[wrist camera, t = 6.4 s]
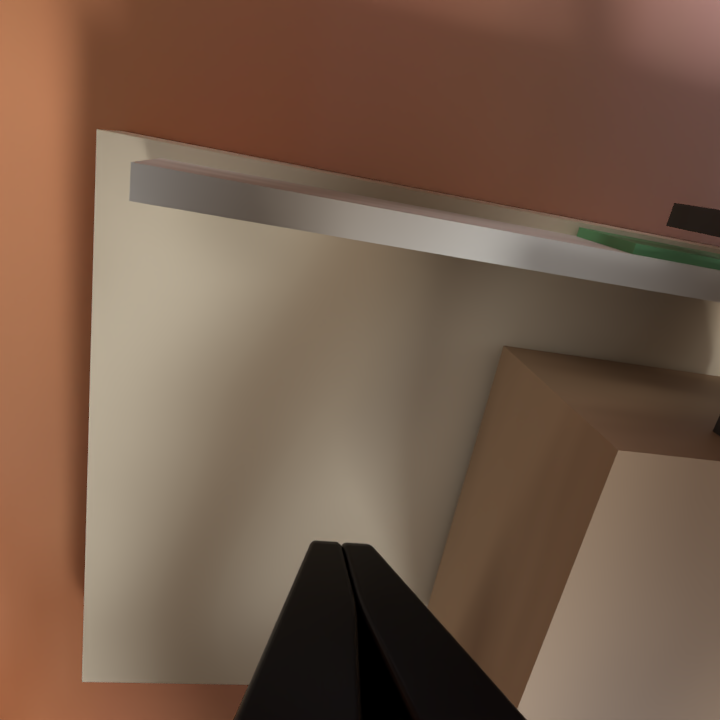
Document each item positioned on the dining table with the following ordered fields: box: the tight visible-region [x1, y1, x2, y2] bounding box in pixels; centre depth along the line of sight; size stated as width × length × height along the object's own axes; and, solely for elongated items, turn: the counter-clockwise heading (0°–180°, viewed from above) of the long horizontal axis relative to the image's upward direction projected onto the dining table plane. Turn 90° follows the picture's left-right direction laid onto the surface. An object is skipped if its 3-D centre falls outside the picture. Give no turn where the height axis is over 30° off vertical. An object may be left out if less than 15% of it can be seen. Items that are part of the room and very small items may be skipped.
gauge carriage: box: [427, 203, 720, 720], centre depth 10 cm, size 8×10×4 cm
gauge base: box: [82, 129, 720, 685], centre depth 12 cm, size 22×12×5 cm, turn 79°
